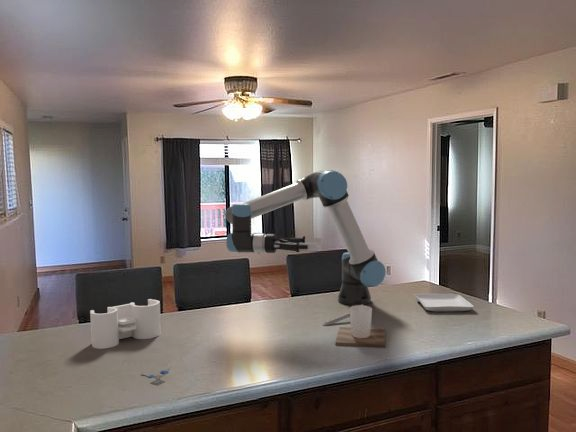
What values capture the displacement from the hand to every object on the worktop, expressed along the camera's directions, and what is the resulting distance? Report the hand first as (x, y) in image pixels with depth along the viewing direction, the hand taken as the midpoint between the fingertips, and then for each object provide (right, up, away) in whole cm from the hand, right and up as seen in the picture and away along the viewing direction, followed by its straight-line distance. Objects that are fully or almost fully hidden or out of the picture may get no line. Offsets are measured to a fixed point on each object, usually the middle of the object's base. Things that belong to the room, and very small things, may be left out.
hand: (319, 244), depth 189 cm
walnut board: (+14, -33, -13) cm, 38 cm away
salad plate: (+57, -30, +28) cm, 70 cm away
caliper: (+11, -32, +7) cm, 34 cm away
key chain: (-52, -37, -44) cm, 78 cm away
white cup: (+14, -32, -13) cm, 38 cm away
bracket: (-70, -34, -11) cm, 79 cm away
